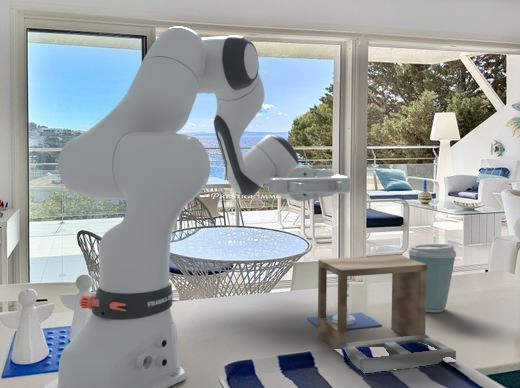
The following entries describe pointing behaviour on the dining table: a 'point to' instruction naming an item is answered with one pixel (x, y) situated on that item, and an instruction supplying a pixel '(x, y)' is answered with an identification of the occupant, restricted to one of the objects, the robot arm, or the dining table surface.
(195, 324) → the dining table surface
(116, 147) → the robot arm
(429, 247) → the disposable coffee cup
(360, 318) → the mat
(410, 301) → the tunnel
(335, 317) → the chess piece
